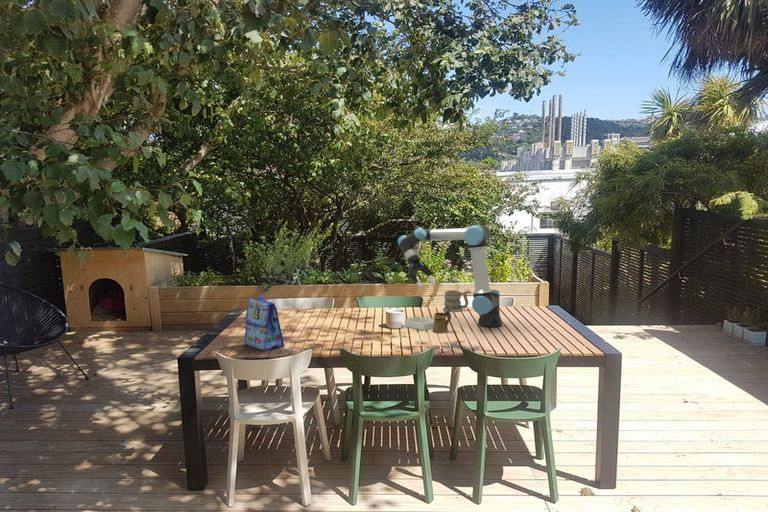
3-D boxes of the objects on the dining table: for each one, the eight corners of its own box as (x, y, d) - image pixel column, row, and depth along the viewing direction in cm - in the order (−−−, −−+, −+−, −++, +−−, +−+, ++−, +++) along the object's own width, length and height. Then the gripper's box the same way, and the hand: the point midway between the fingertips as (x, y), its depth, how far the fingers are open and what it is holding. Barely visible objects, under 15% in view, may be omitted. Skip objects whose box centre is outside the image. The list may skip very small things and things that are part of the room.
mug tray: (439, 326, 342) (439, 320, 342) (424, 330, 332) (424, 324, 332) (417, 322, 357) (417, 316, 356) (401, 325, 347) (401, 319, 346)
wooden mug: (455, 333, 325) (454, 303, 323) (432, 333, 326) (432, 303, 324) (454, 329, 334) (454, 301, 332) (432, 329, 335) (432, 301, 333)
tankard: (442, 311, 387) (442, 291, 386) (445, 308, 400) (445, 288, 398) (470, 313, 382) (470, 292, 380) (472, 309, 394) (472, 289, 392)
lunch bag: (244, 344, 309) (241, 295, 306) (264, 340, 318) (262, 292, 316) (264, 351, 294) (262, 299, 291) (285, 346, 303) (283, 296, 300)
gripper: (421, 259, 357) (436, 286, 349) (395, 261, 339) (410, 290, 332) (428, 253, 353) (443, 280, 345) (402, 255, 335) (417, 284, 327)
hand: (427, 285), depth 338 cm, fingers open, 13 cm apart
